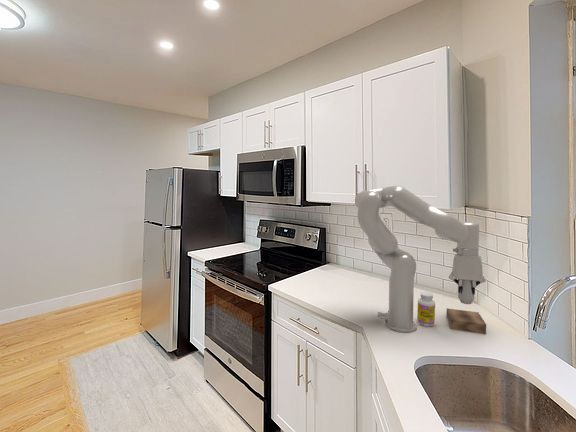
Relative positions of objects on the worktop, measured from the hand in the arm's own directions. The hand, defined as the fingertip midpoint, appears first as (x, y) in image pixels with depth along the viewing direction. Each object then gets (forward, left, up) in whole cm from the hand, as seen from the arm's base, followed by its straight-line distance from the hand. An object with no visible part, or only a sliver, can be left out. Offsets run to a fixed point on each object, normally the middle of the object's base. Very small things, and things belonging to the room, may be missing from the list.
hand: (466, 295), depth 115 cm
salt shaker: (0, 0, -3) cm, 3 cm away
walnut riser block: (0, 0, -13) cm, 13 cm away
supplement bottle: (-15, -4, -13) cm, 20 cm away
